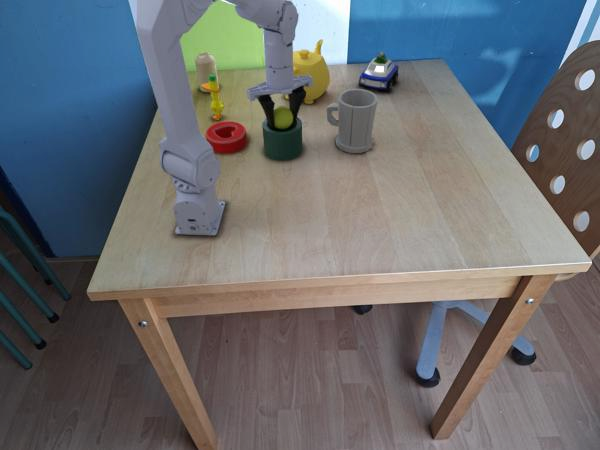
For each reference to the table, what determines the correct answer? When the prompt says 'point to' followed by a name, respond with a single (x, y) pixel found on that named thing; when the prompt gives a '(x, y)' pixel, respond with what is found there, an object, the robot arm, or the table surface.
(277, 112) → the ball
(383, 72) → the toy car
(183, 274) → the table surface
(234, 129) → the decorative ornament
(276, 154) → the jar
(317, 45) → the teapot
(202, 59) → the candle
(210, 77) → the toy figure
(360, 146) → the cup
